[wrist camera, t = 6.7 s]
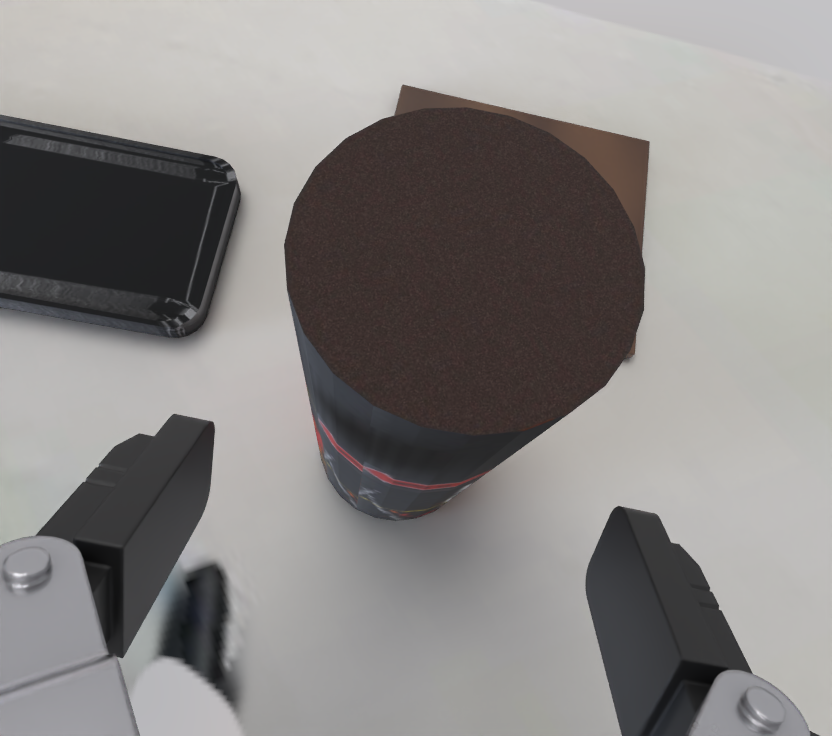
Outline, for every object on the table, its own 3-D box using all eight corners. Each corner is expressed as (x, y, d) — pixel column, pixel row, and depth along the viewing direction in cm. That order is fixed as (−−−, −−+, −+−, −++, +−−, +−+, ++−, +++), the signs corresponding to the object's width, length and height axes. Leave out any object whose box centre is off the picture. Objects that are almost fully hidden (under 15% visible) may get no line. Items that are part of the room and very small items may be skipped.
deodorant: (424, 551, 23) (548, 512, 9) (289, 466, 24) (205, 303, 9) (498, 419, 25) (698, 215, 11) (372, 343, 25) (406, 53, 11)
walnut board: (351, 300, 26) (351, 293, 25) (401, 93, 30) (402, 83, 29) (629, 359, 27) (635, 354, 26) (644, 149, 30) (650, 140, 30)
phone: (192, 332, 24) (-222, 257, 23) (199, 343, 25) (-197, 271, 24) (243, 159, 26) (-128, 86, 25) (247, 176, 27) (-109, 106, 26)
